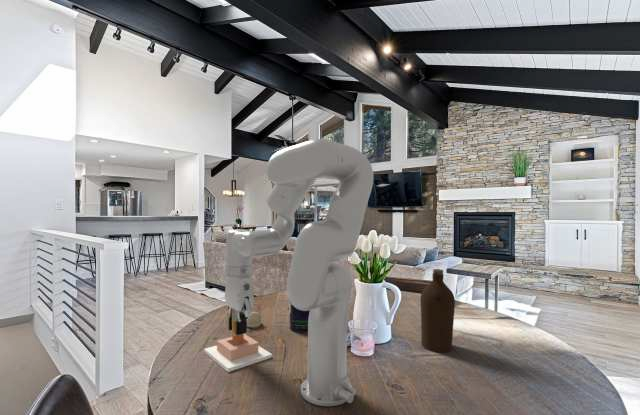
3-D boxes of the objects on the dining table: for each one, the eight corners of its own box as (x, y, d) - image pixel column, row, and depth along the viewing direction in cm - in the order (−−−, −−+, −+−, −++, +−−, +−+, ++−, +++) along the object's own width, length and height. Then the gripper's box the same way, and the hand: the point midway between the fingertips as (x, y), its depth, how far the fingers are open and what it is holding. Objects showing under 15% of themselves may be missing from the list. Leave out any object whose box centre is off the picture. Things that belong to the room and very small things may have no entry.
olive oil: (461, 351, 107) (462, 272, 107) (431, 354, 104) (432, 273, 104) (441, 338, 117) (442, 266, 117) (413, 341, 115) (415, 267, 114)
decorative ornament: (264, 325, 127) (264, 311, 127) (243, 330, 122) (243, 315, 122) (259, 322, 130) (259, 308, 130) (239, 326, 125) (239, 312, 125)
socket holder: (271, 357, 101) (272, 344, 101) (228, 372, 91) (228, 357, 91) (245, 340, 113) (245, 328, 113) (204, 352, 103) (204, 339, 103)
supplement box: (230, 337, 103) (231, 304, 103) (242, 335, 104) (242, 303, 104) (231, 341, 100) (232, 307, 100) (243, 339, 101) (244, 306, 101)
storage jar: (285, 331, 121) (286, 289, 121) (294, 322, 131) (294, 283, 131) (312, 334, 119) (313, 291, 119) (319, 324, 128) (319, 285, 128)
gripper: (264, 274, 98) (263, 337, 98) (236, 265, 110) (235, 321, 111) (240, 277, 93) (239, 343, 93) (214, 267, 106) (213, 326, 106)
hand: (237, 330), depth 102 cm, fingers closed on supplement box, 3 cm apart
